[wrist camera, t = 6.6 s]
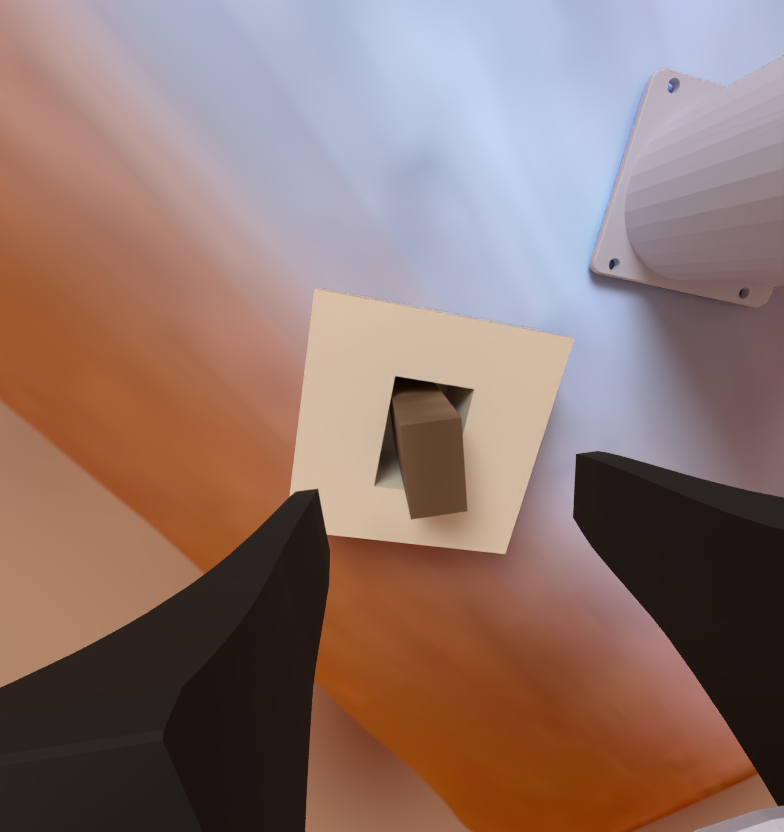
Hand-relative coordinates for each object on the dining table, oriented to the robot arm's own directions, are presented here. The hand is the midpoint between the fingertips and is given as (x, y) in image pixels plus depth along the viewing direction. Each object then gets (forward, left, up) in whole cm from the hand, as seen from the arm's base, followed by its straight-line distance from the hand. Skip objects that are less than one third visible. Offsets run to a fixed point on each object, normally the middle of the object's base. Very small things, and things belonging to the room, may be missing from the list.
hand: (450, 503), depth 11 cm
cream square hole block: (0, 0, -10) cm, 10 cm away
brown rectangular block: (0, 0, -9) cm, 9 cm away
